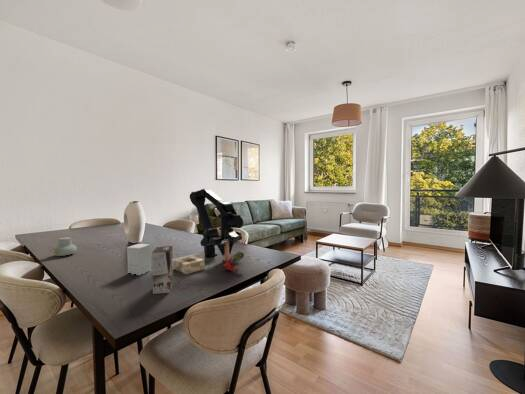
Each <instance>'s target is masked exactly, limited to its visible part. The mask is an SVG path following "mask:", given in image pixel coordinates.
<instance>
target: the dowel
mask: <svg viewBox="0 0 525 394" xmlns="http://www.w3.org/2000/svg"><path fill="white" fill-rule="evenodd" d="M224 244H225V246H224V256H222V257H223V259H222V260H223V262H228V259H230V254H229V241H224ZM225 259H226V260H225Z"/></svg>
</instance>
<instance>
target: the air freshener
mask: <svg viewBox="0 0 525 394" xmlns="http://www.w3.org/2000/svg"><path fill="white" fill-rule="evenodd" d="M57 240H58V245H57V246H56V247H54V249H53V254H54V255H55V256H57V257H60V256H63V257H66V256H65V255H69V256H71V255H70V254H72V255H73V253H74V254H75V253H76V252H77V250H78V248H77V245H75V244H73V243H72V241H73V240H72V237H69V236H67V237H66V236H65V237H60V238H58V239H57Z"/></svg>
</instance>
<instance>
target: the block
mask: <svg viewBox="0 0 525 394" xmlns="http://www.w3.org/2000/svg"><path fill="white" fill-rule="evenodd" d="M205 269H206V268H205V261H204V260H203V259H201V258H198V257H195V256H190V257H186V258H182V259H178V260H175V270H176V271H177V272H180V273H182V274H185V275H189V274H192V273H195V272H198V271H203V270H205Z"/></svg>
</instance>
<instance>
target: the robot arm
mask: <svg viewBox="0 0 525 394" xmlns="http://www.w3.org/2000/svg"><path fill="white" fill-rule="evenodd" d="M189 199H190V202H191V204H192V205H193V206H195V208H196V210H197V214H198V216H199V219H200V222H201V225H202V228H203V231H202V232H203V233H202V237H203V238H202V239H200V246H201V247H203V253H205V258H211V257H215V256H218V254H217V253H216V246H217V248H218V249H219V251H220V254H221V256H222V257H223V256H224V246H225V244H224V241H229V255H231V252H232V250H233V247H234V245H235V244H236V243H237V242H239V241H241V240H242V239H243V235H242V232H241V231H240V230H238V231H234V229H241V228H243V226H244V219H243V218H242V216H241V214H238V213H237V211H236V209H235V208H234V204H233V203H232V202H230V201H228V200H224V199H222V198H221V197H220V196H218V195H217V194H216V193H214V192H213V191H212V190H211V189H210V188H202V189H200V190H196V191H191V192H190V194H189ZM206 199H207V200H208V201H209V202H210V203H212V204H213V205H214V206H215V209H216V210H217V212H218V213H219V214H218V215H217V217H218V218H220V227H219V228H217V227H213V225H212V222H211V218H210V216H209V214H208V211H207V208H206V205H205V203H206ZM218 230H219V231H220V232H219V231H218Z"/></svg>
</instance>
